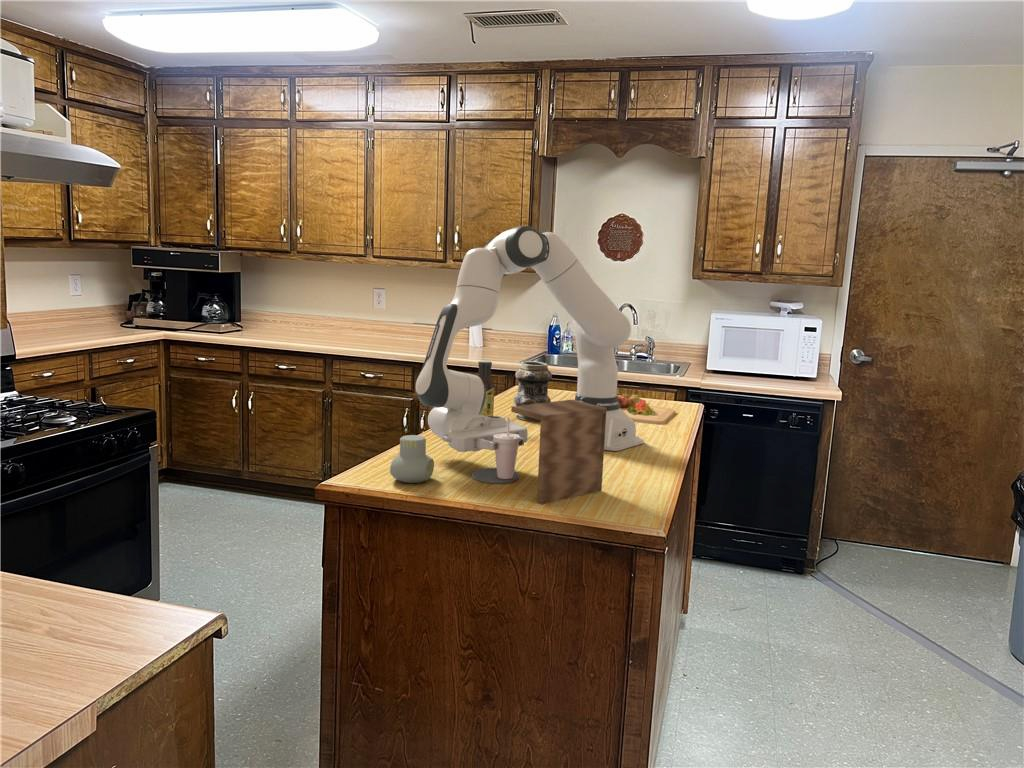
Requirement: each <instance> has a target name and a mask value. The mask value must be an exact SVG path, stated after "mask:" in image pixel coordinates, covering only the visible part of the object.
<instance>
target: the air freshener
mask: <svg viewBox="0 0 1024 768" xmlns="http://www.w3.org/2000/svg"><path fill="white" fill-rule="evenodd" d="M426 448H427V439H426V437H425V436H424V435H423V436H422V435H417V434H410V435H408V434H407V435H404V436H401V437H400V438H399V454H397V455H395V456H394V457H393V459H392V461H391V464H390V469H389V473H390V476H392V477H393V478H394V479H396V480H397V481H399V482H402V483H407V484H419V483H418V482H421V483H425V482H426V481H428V480H429V479H431V477H432V476H433V472H434V469H435V461H434V459H433V458H432V457H431V456H429V455H428V454H427V453H426V451H427V449H426Z"/></svg>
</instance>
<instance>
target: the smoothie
mask: <svg viewBox="0 0 1024 768" xmlns="http://www.w3.org/2000/svg"><path fill="white" fill-rule="evenodd" d="M510 419H511V418H510V417H507V419H506V421H507V433H500V434H495V435H494V436H493V441H495V442H497V443H498V446H497V447H498V449H497V450H494V452H495V453H494V454H495V465H496V468H497V477H498V478H502V479H510V478H513V475H514V472H515V468H516V463H517V462H516V461H517V455H518V449H519V446H518V444H519V442H520V436H519V435H516V434H510V433H509V424H510V421H511V420H510Z"/></svg>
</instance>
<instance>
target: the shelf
mask: <svg viewBox="0 0 1024 768" xmlns="http://www.w3.org/2000/svg"><path fill="white" fill-rule="evenodd" d="M510 408H511V411H510V412H511V413H514V414H517V415H518V414H521V415H524V416H527V417H531V418H534V419H538V420H541V421H540V425H539V426H540V429H539V450H538V451H539V452H538V469H537V470H538V471H537V472H538V474H537V494H536V503H537V504H538V505H543V504H547V503H552V502H557V501H560V500H561V501H562V500H565V499H570V498H575V497H580V496H584V495H589V494H594V493H598V492H602V489H603V487H602V486H603V474H604V473H603V471H604V469H603V468H604V457H605V455H604V454H605V450H604V442H605V426H606V410H607V408H605V407H601V406H597V405H593V404H589V403H585V402H580V401H576V400H575V399H567V400H557V401H551V402H546V403H537V404H528V405H520V406H516V405H512V406H511V407H510Z"/></svg>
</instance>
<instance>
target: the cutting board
mask: <svg viewBox="0 0 1024 768" xmlns="http://www.w3.org/2000/svg"><path fill="white" fill-rule="evenodd" d="M617 396H618V397H620V396H622V397H626V398H627V399H626V400H627V402H625V403H626V404H622V403H620V409H621V410H622V411H623V412H624V413H626V414H627V415H628V416H629V417H630V418H631V419H632V420H633V421H634V422H635V423H643V424H653V425H664V424H665V423H667V422H668V421H669V420H670V419H671V418H672V417H673V416H674V415H675V414H676V409H673V408H671V407H664V406H655V405H650V403H649V402H647V401H646V400H645V399H642V398H640V396H639V395H638V394H631V395H628V394H626V393H623V394H621V395H617ZM646 402H647V403H646Z"/></svg>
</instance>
